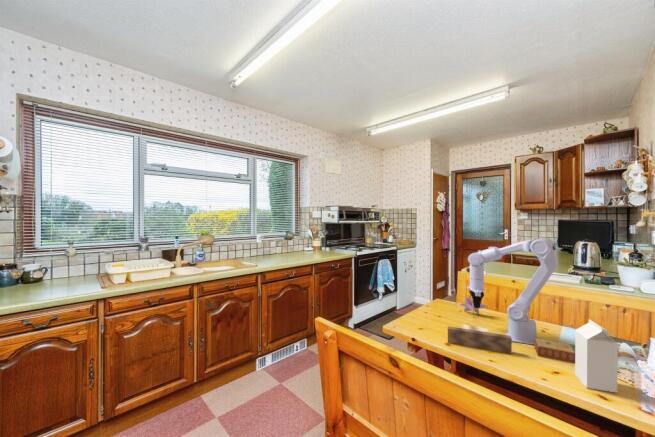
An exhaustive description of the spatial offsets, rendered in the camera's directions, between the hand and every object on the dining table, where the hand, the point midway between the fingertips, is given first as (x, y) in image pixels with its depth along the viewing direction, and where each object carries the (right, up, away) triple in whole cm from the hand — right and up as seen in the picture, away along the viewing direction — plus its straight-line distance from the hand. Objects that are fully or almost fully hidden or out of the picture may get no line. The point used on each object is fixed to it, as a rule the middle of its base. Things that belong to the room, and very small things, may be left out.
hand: (476, 307), depth 125 cm
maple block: (-8, -10, -13) cm, 18 cm away
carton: (+18, -10, -26) cm, 33 cm away
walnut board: (-9, -10, -18) cm, 22 cm away
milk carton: (+14, -10, -42) cm, 45 cm away
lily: (+7, -9, +16) cm, 19 cm away
